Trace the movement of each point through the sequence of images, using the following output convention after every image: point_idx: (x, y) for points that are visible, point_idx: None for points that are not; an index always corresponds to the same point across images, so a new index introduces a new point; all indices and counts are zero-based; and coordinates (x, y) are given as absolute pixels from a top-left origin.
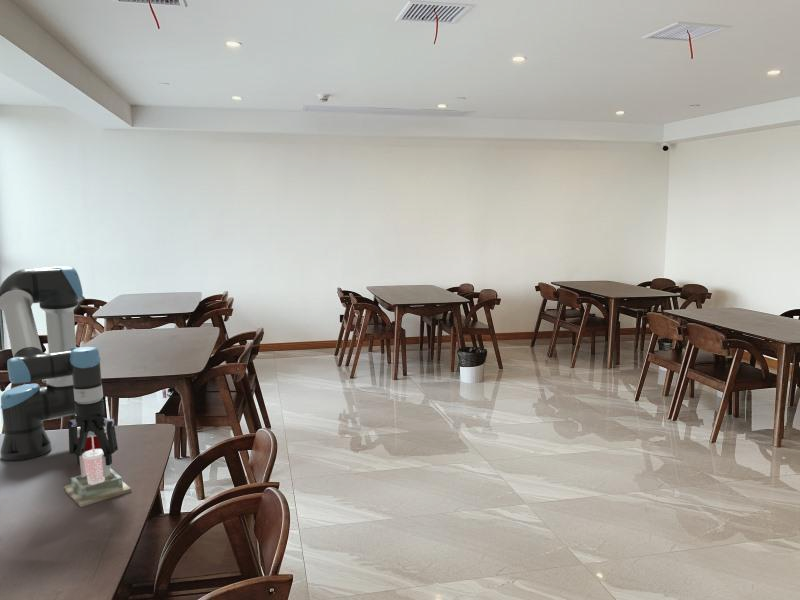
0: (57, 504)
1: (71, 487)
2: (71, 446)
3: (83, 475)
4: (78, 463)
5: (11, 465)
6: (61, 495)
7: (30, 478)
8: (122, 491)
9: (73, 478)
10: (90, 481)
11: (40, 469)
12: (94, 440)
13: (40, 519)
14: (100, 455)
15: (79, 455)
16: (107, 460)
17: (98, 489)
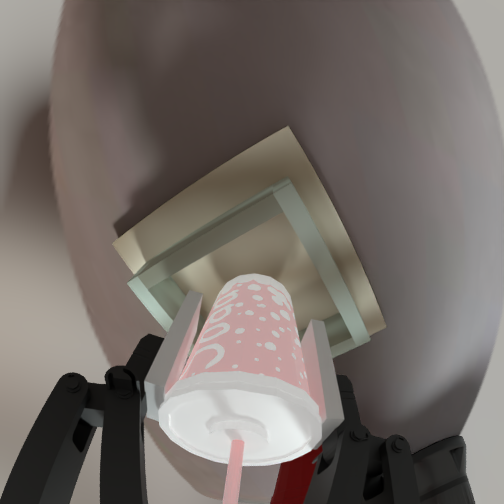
0: (391, 192)
1: (360, 313)
2: (402, 480)
3: (312, 324)
4: (345, 384)
5: (459, 425)
6: (388, 274)
7: (449, 387)
8: (135, 225)
9: (359, 332)
10: (272, 285)
11: (424, 420)
12: (297, 497)
13: (414, 73)
14: (170, 394)
15: (343, 427)
16: (147, 360)
17: (220, 219)
